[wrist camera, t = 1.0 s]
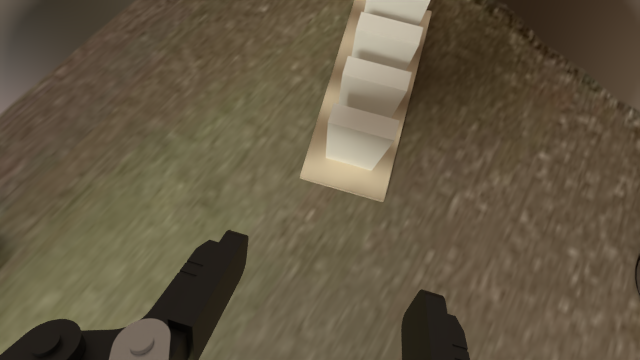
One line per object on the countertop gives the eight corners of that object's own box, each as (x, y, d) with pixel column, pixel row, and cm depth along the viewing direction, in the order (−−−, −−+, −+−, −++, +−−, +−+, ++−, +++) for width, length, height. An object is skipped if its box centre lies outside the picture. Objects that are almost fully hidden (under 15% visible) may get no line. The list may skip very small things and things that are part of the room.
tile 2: (380, 135, 33) (406, 91, 23) (335, 123, 33) (342, 74, 23) (384, 121, 33) (411, 72, 23) (339, 109, 33) (347, 55, 23)
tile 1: (371, 170, 32) (394, 140, 22) (325, 157, 32) (327, 122, 22) (375, 156, 32) (399, 120, 22) (329, 143, 32) (333, 102, 23)
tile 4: (398, 69, 34) (430, 1, 24) (355, 58, 34) (368, -14, 25) (401, 57, 34) (434, -16, 25) (358, 46, 35) (373, -31, 25)
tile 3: (389, 102, 33) (418, 45, 24) (345, 90, 34) (356, 28, 24) (393, 88, 34) (423, 27, 24) (349, 77, 34) (361, 11, 24)
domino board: (382, 201, 32) (383, 200, 31) (300, 178, 33) (299, 176, 32) (428, 17, 36) (431, 11, 35) (355, -1, 37) (356, -8, 36)
